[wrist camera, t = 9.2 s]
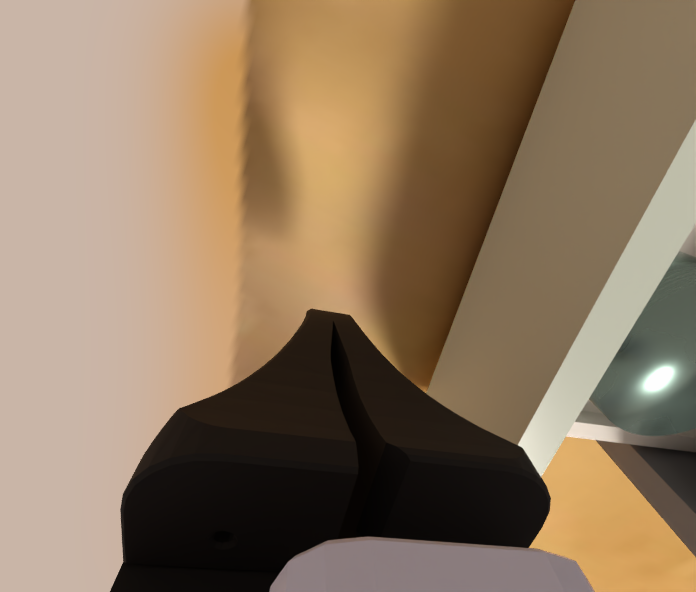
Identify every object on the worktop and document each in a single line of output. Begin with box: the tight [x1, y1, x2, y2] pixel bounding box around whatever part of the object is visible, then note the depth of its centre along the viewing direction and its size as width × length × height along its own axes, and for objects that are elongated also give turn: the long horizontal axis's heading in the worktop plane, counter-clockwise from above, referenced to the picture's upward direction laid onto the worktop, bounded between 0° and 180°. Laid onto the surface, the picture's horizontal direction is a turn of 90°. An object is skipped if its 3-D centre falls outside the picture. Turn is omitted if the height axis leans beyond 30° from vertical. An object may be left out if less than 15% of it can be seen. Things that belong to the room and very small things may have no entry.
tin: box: [589, 251, 696, 436], centre depth 12 cm, size 5×5×4 cm
